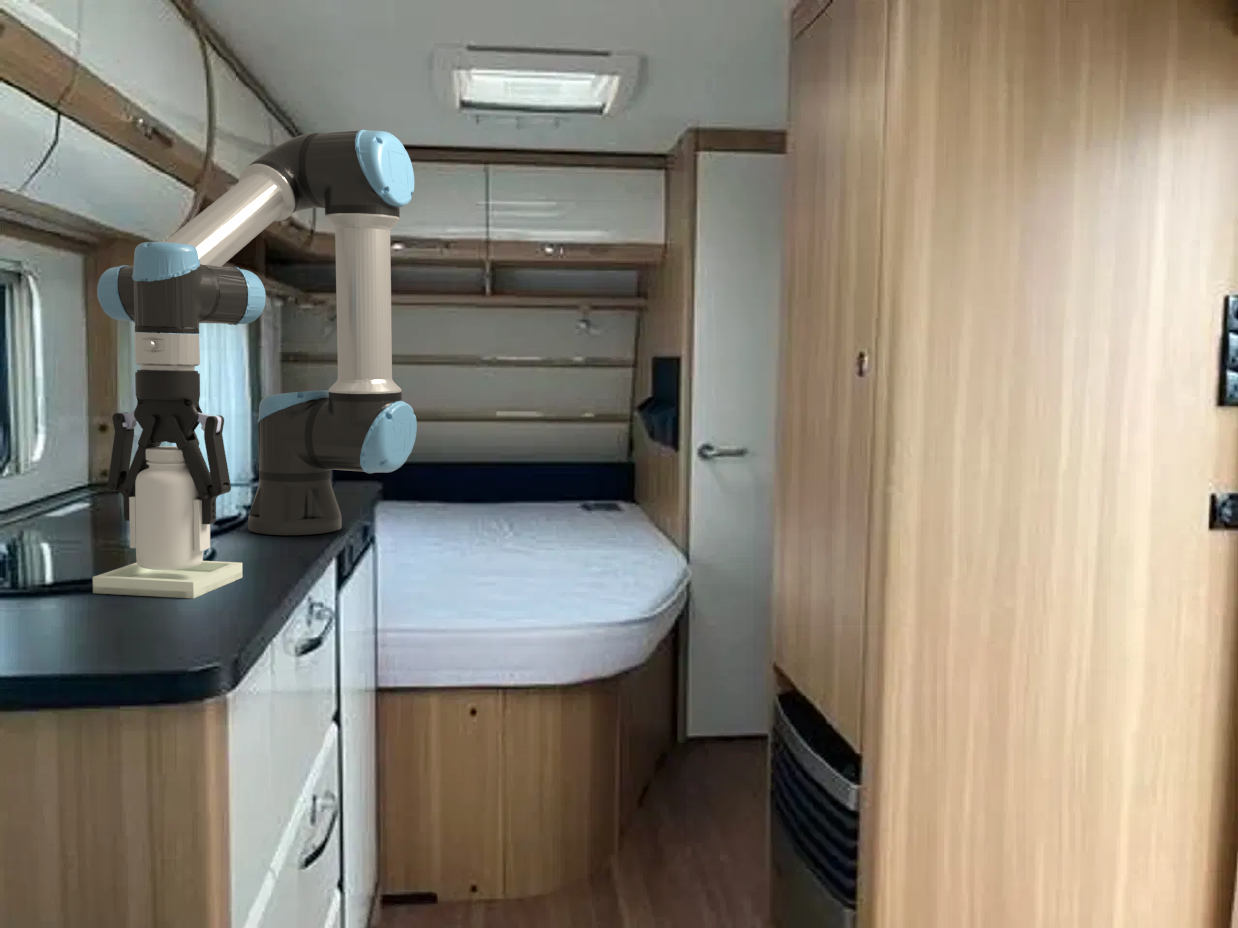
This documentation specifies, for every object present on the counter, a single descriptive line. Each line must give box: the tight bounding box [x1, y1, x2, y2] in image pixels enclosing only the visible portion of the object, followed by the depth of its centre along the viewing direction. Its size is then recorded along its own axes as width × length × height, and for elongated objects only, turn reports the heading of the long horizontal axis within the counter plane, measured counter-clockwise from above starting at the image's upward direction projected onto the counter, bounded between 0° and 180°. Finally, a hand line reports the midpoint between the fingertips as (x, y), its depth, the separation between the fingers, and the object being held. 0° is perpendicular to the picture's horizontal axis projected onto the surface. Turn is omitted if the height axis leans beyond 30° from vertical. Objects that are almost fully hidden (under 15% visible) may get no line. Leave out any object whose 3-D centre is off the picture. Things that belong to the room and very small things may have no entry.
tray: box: [92, 560, 243, 599], centre depth 141 cm, size 13×13×2 cm
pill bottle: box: [135, 445, 204, 570], centre depth 140 cm, size 8×8×15 cm
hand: (170, 547), depth 141 cm, fingers closed on pill bottle, 8 cm apart
